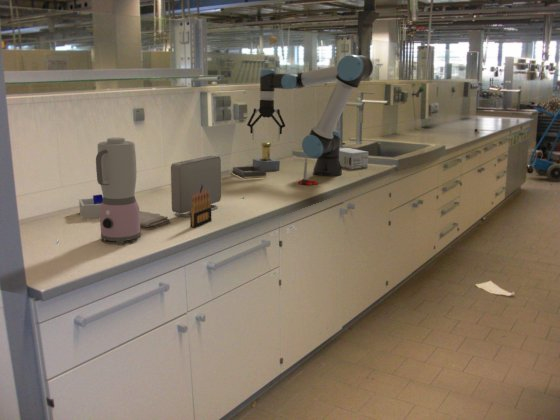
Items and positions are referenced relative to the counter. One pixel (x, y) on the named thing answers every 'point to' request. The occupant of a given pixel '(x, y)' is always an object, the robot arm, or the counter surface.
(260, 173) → the tray
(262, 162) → the block
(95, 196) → the cable clip
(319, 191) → the counter surface
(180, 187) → the network device
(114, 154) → the blender
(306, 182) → the red base upright rod
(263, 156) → the amber glass vase
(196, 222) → the ammunition clip
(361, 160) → the supplement box
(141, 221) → the washcloth
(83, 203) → the box
